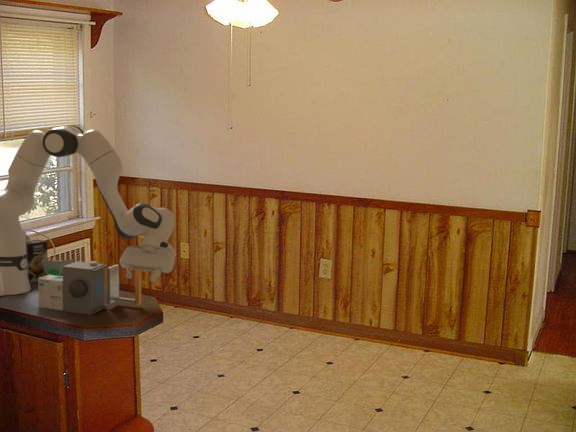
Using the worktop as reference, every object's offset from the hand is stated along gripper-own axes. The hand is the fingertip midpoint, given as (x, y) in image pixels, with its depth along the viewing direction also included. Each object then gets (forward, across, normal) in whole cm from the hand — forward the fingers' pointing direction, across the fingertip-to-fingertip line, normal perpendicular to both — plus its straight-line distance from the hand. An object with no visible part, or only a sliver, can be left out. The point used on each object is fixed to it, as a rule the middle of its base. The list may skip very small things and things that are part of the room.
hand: (139, 279), depth 269 cm
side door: (+9, -4, +4) cm, 11 cm away
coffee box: (-5, -56, +20) cm, 60 cm away
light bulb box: (+16, -26, -1) cm, 31 cm away
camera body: (+16, -15, -2) cm, 22 cm away
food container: (-3, -44, +18) cm, 48 cm away
